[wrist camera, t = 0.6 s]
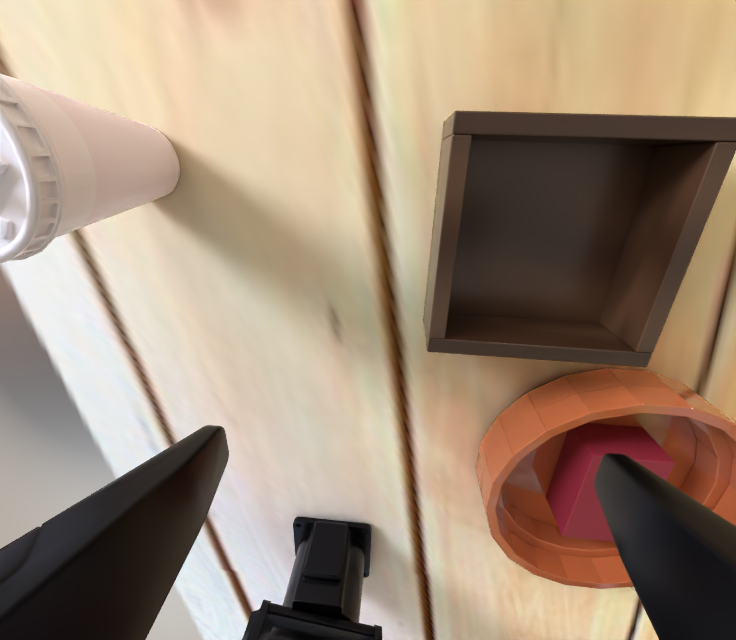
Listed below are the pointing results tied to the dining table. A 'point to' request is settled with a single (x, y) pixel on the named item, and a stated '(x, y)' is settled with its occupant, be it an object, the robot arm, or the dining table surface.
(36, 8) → the dining table surface
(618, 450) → the dark red block
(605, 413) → the bowl
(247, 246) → the dining table surface
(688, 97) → the dining table surface
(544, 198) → the holder
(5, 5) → the dining table surface
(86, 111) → the smoothie
